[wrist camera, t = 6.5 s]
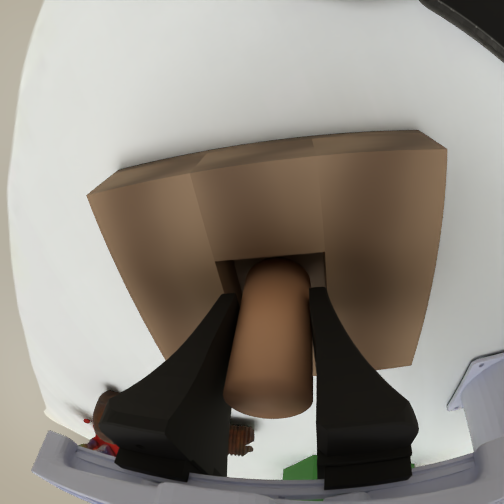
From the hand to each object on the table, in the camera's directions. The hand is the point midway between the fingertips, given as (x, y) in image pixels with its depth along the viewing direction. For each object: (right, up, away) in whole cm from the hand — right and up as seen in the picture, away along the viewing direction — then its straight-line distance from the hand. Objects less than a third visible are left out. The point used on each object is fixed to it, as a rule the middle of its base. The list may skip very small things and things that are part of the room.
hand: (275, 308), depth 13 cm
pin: (0, +1, +1) cm, 2 cm away
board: (0, +2, +3) cm, 4 cm away
